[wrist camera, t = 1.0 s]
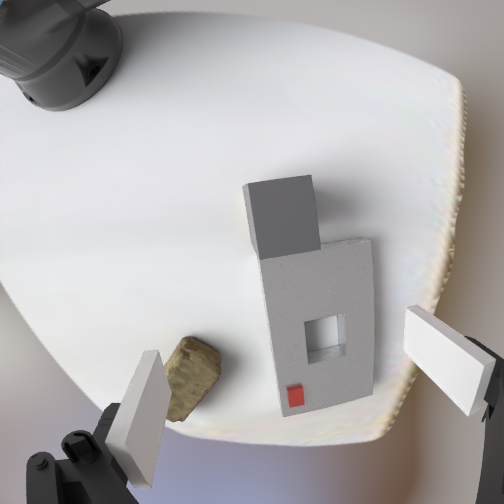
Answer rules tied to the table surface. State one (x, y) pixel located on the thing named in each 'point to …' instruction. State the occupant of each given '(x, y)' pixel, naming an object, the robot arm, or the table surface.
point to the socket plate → (315, 307)
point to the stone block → (190, 376)
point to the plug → (282, 216)
